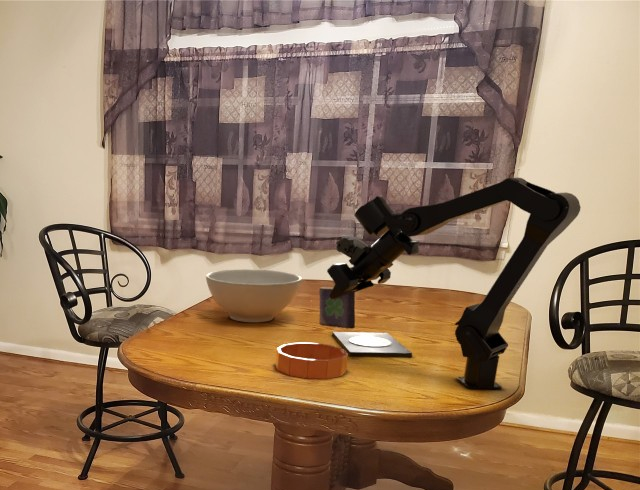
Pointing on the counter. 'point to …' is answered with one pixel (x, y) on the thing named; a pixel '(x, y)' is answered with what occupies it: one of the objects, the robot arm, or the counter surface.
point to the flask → (337, 309)
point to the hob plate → (370, 344)
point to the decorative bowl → (252, 292)
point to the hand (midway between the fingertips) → (334, 296)
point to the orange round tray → (311, 360)
